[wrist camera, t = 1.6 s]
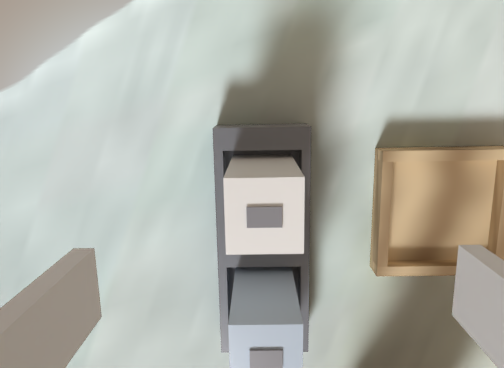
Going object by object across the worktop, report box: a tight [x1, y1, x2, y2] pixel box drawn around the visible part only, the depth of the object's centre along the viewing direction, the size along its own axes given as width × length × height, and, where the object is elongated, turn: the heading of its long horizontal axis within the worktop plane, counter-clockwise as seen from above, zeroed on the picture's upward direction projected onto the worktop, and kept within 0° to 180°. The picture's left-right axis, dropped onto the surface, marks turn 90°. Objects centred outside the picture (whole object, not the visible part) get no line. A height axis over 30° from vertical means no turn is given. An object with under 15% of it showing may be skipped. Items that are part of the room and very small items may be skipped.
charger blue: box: [228, 267, 303, 368], centre depth 29 cm, size 4×4×9 cm
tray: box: [370, 146, 504, 276], centre depth 32 cm, size 10×10×2 cm
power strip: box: [213, 124, 311, 352], centre depth 32 cm, size 26×7×4 cm, turn 1°
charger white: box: [223, 154, 305, 255], centre depth 27 cm, size 4×4×9 cm
